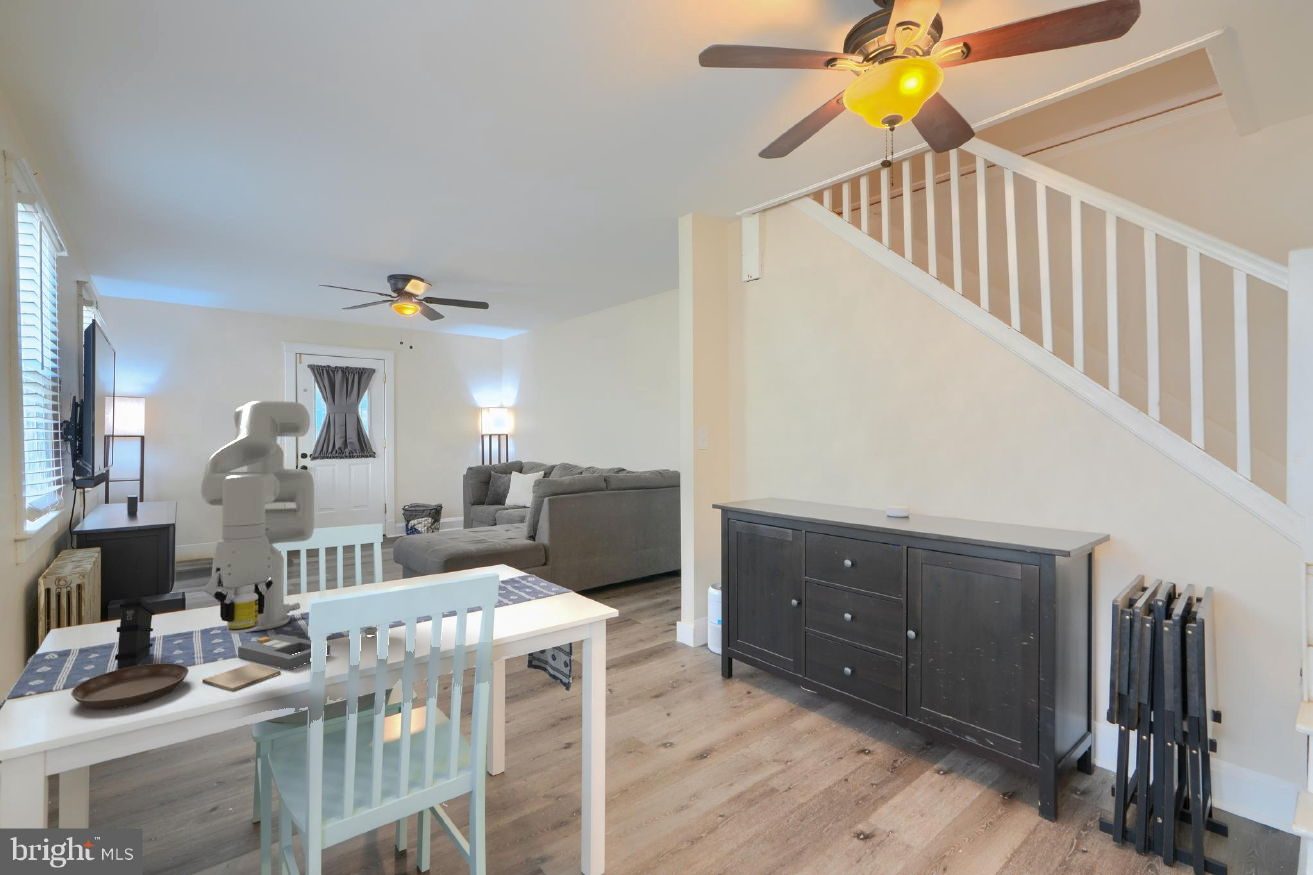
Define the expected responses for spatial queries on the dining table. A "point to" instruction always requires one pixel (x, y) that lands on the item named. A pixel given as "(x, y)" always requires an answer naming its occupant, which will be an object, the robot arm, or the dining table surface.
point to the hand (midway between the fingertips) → (242, 616)
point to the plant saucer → (129, 685)
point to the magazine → (134, 632)
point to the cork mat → (241, 677)
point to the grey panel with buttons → (278, 651)
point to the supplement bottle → (244, 610)
